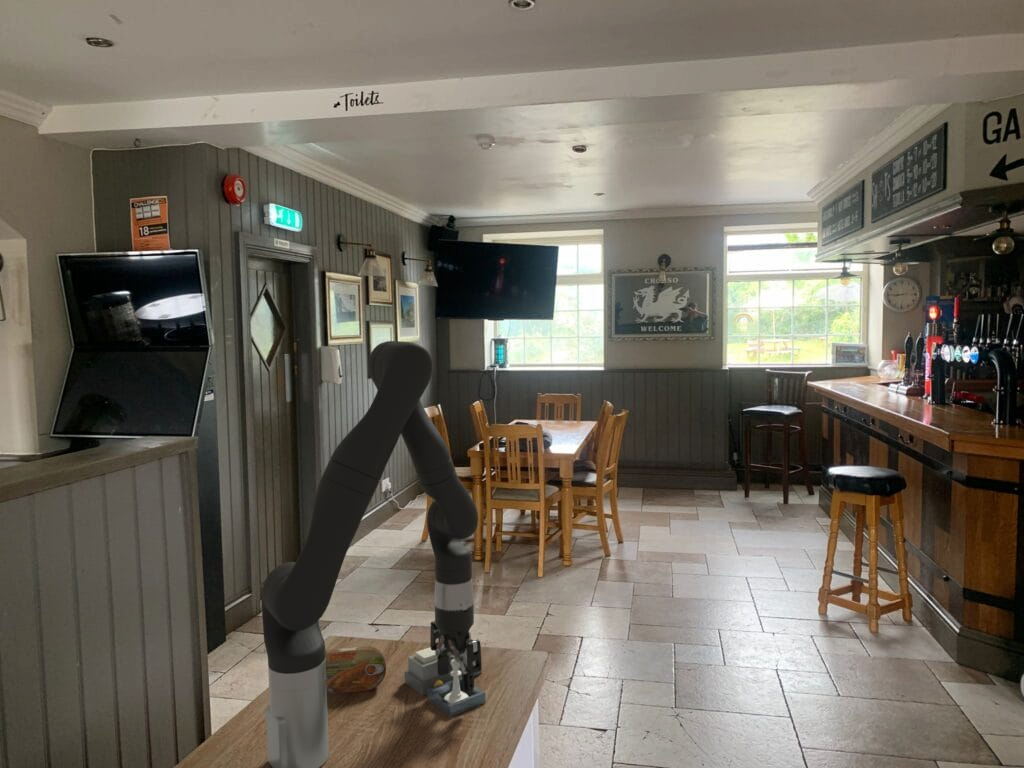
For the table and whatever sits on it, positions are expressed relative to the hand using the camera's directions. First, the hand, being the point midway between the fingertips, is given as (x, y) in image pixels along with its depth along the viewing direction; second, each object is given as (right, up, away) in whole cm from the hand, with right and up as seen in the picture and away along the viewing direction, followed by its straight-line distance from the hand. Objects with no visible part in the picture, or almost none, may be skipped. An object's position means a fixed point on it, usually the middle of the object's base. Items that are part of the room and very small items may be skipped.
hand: (455, 682), depth 139 cm
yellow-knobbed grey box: (-3, -3, +10) cm, 11 cm away
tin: (-22, -4, +6) cm, 23 cm away
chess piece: (0, -4, 0) cm, 4 cm away
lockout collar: (0, -4, 0) cm, 4 cm away
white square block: (-6, 0, +7) cm, 10 cm away
